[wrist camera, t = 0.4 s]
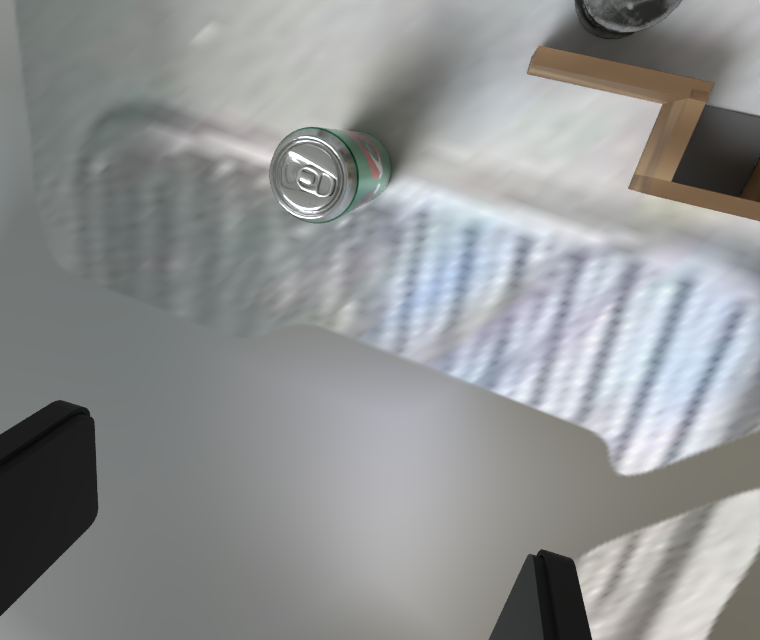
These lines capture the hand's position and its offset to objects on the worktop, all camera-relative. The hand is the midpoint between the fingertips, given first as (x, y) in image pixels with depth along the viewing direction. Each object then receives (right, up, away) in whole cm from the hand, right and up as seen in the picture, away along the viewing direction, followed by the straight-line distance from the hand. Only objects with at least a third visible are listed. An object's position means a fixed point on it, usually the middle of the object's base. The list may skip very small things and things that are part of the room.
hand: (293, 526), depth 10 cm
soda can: (0, +16, +26) cm, 31 cm away
